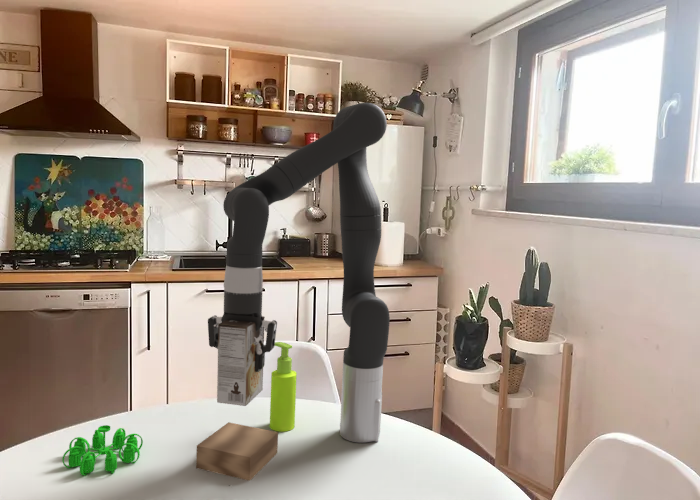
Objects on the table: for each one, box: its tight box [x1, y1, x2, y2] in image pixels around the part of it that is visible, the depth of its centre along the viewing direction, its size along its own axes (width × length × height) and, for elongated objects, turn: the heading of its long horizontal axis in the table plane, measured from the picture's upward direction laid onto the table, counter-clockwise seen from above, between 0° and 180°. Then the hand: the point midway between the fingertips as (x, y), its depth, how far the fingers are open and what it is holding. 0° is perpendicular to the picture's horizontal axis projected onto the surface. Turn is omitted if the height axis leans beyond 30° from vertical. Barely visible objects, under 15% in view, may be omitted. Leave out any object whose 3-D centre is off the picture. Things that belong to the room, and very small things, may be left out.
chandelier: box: [61, 424, 144, 477], centre depth 108 cm, size 15×15×7 cm
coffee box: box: [216, 315, 265, 407], centre depth 108 cm, size 9×6×16 cm
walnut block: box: [195, 421, 279, 481], centre depth 110 cm, size 12×12×5 cm
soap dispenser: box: [269, 341, 297, 433], centre depth 126 cm, size 6×7×20 cm
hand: (241, 369), depth 108 cm, fingers closed on coffee box, 6 cm apart
